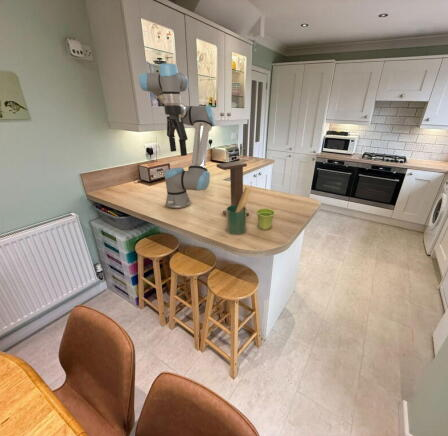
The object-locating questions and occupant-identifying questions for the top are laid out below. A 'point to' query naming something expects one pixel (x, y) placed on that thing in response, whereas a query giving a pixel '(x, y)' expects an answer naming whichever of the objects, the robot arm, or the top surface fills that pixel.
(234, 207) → the utensil pot
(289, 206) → the top surface
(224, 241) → the top surface
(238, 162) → the brown wooden stand
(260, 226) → the plant pot
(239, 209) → the stick
